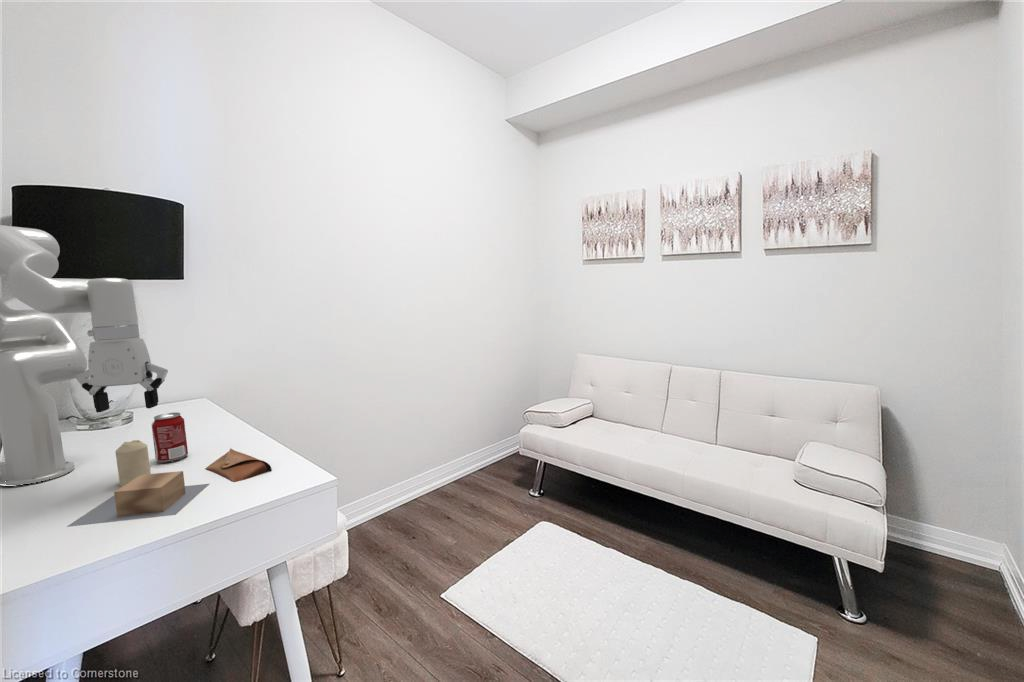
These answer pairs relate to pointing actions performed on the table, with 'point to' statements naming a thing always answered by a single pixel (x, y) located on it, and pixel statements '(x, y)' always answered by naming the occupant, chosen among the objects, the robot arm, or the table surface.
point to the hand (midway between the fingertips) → (127, 408)
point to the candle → (132, 461)
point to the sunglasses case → (238, 466)
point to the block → (149, 493)
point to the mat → (109, 514)
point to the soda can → (169, 437)
